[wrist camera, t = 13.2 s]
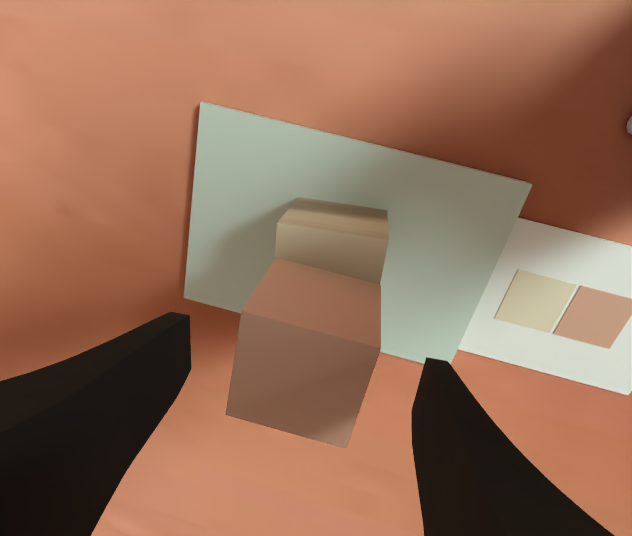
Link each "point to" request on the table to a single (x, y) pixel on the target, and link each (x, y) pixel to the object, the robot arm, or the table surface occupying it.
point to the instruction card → (558, 307)
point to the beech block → (334, 238)
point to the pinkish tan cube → (306, 352)
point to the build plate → (354, 189)
